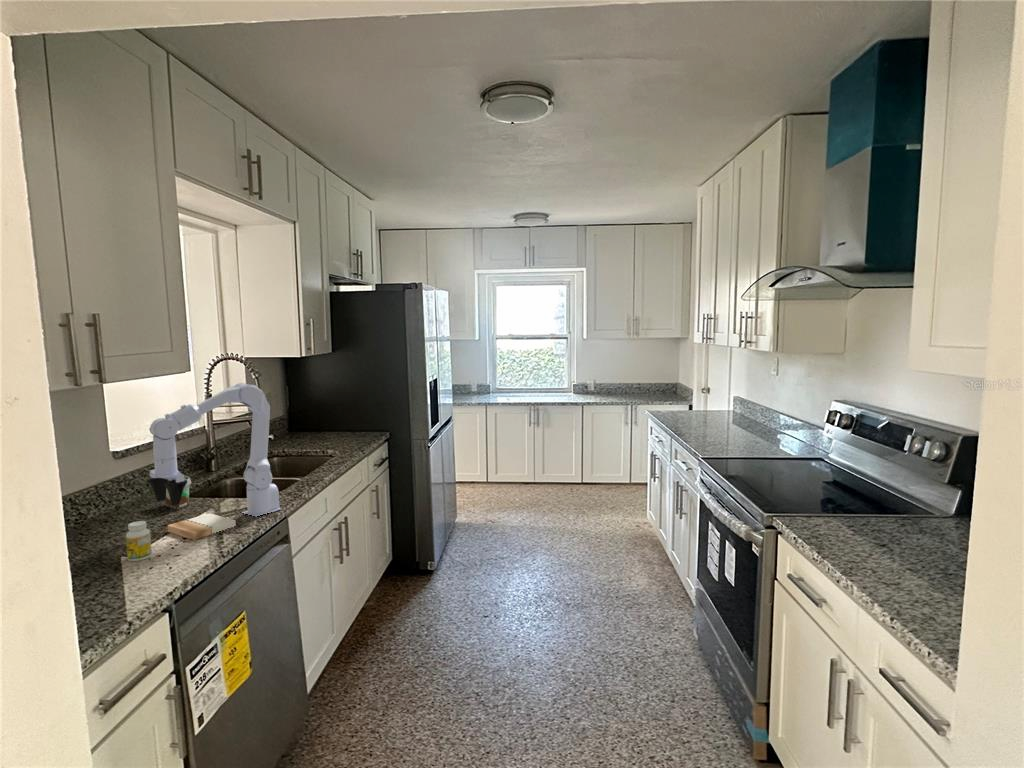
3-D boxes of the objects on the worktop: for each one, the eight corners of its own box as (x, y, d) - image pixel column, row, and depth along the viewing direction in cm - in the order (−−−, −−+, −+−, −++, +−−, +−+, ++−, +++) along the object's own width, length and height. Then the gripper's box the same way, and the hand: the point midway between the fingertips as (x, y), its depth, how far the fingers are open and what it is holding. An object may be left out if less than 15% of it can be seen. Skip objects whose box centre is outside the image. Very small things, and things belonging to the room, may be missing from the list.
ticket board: (209, 519, 173) (208, 512, 172) (235, 526, 166) (235, 519, 166) (185, 526, 166) (185, 519, 166) (212, 534, 159) (212, 527, 159)
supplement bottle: (155, 556, 144) (153, 522, 143) (133, 563, 139) (130, 528, 138) (145, 552, 146) (143, 518, 146) (123, 559, 142) (121, 524, 141)
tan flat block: (184, 526, 166) (184, 520, 166) (211, 534, 159) (211, 527, 159) (167, 531, 161) (167, 525, 161) (194, 540, 155) (194, 533, 155)
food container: (199, 505, 187) (198, 477, 186) (181, 510, 181) (180, 482, 180) (181, 500, 193) (179, 473, 192) (163, 504, 188) (161, 477, 187)
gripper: (137, 458, 158) (140, 502, 159) (165, 463, 151) (168, 509, 152) (162, 453, 164) (165, 496, 165) (190, 458, 157) (192, 502, 159)
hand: (168, 502), depth 159 cm, fingers open, 7 cm apart
